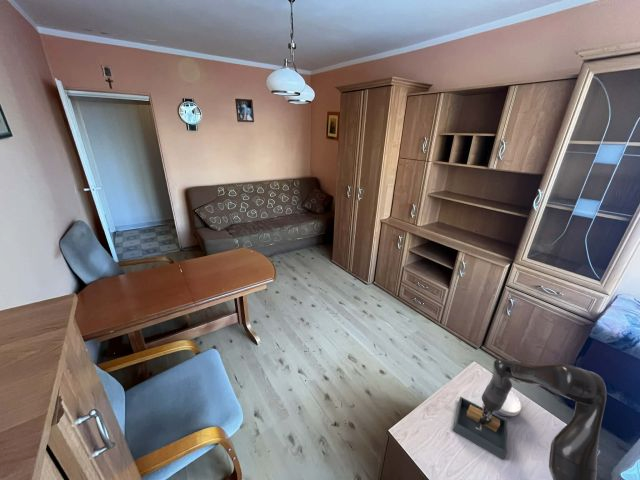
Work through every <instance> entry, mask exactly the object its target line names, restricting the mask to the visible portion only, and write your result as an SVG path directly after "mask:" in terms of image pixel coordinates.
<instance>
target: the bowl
mask: <svg viewBox="0 0 640 480" xmlns="http://www.w3.org/2000/svg"><path fill="white" fill-rule="evenodd" d="M521 410H522V403H521V400H520V399H519V397H518V396H517V394H515V393H514V392H513V391H512V389H511V390H510V392H509V394H508V396H507V399H506V401H505V402H504V404H503V406H502V408H501V409H500V410H498V411H494V413H496V415H498V416H503V417H514V416H517V415H519V413H521Z"/></svg>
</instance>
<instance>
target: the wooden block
mask: <svg viewBox="0 0 640 480" xmlns="http://www.w3.org/2000/svg"><path fill="white" fill-rule="evenodd" d="M481 416H482V410H480V409H478V408H476V407H474V406H472V405H470V406H469V408H468V410H467V417H469V418H471V419H473V420H475V421H477V422H479V420H480V418H481ZM491 419H492V421H491V422H490V423H488V424H487V423H485V425H484V426H486V427H488V428H490V429H492V430H493V431H495V432H496V431H497V429H498V428H499V426H500V420H499V419H497V418H495V417H494V416H491ZM482 425H483V424H481V423H480V429H479V428H477V427H476V429H477V430H479V431H481V430H482Z"/></svg>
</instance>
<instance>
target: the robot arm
mask: <svg viewBox="0 0 640 480" xmlns="http://www.w3.org/2000/svg"><path fill="white" fill-rule="evenodd" d="M511 380H512V381H518V382H519V383H523V384H526V385H530V386H536V387H538V386H541V387H544V388H546V389H548V390H550V391H552V392H554V393H556V394H557V395H560V396H562V397H563V398H566V399H569V400H572V401H574V402H575V405H574V411H573V415H572V417H571V419H570V420H569V421H568V423H567V424H566V425H565V426H564V427H563V428H562V429H560V430H559V431H558V433H556V434H555V436H553V439H552V440H551V442H550V449H549V457H548V459H549V460H548V469H549V472H550V476H551V478H552V480H597V474H598V473H597V471H598V451H599V441H600V433H601V427H602V422H603V417H604V412H605V407H606V402H607V387H606V383H605V381H604V379H603V378H602V377H601V376H600V375H599V374H597V373H596V372H593V371H590V370H588V369H584V368H581V367H577V366H575V365H571V364H567V363H552V364H551V363H550V364H535V363H529V362H523V361H522V362H521V361H516V360H510V359H503V358H497V359H495V360H494V361H493V363H492V377H491V379H490V380H489V382H488V384H486V387H485V389H484V391H483V392H482V395H481V401H482V406H481V407H482V416H481V418H480V420H479V423H481V424H483V425H485V423H487V424H488V423H490V422H491V421H492V419H491V416H492V414H495V411H498V410H500V409H501V408H502V406H503V404H504V402H505V401H506V399H507V396H508V394H509V392H510V390H511V391H512V387H513V383H512V381H511Z"/></svg>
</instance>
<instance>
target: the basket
mask: <svg viewBox="0 0 640 480" xmlns="http://www.w3.org/2000/svg"><path fill="white" fill-rule="evenodd" d="M470 405H472V406H474V407H476V408H478V409H480V410H482V406H480V405H478V404H476V403H474V402H472V401H470V400H469V399H466V398H464V397H462V396H460V397H459V399H458V401H457V405H456V410H455V416H454V422H453V427H452V432H454V433H456V434H458V435H459V436H461V437H463V438H465V439H466V440H467V441H470V442H471V443H473V444H475V445H476V446H478V447H480V448H482V449H483V450H485V451H487V452H489V453H490V454H492V455H494V456H496V457H497V458H499V459H500V460H503V459H504V458H505V456H506V455H507V453H508V421H507V419H505V418H503V417H501V416H500V415H498V414H495V413H493V414H492V416H494V417H495V418H497V419H499V420H500V426H499V428H498V429H497V431H496V432H495V431H493V430H492V429H490V428H488V427H486V426H484V425H482V430H481V431H479V430H477V429H476V427H477V428H479V429H480V423H479V422H477V421H475V420H473V419H471V418H469V417H467V410H468V408H469V406H470Z"/></svg>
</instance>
